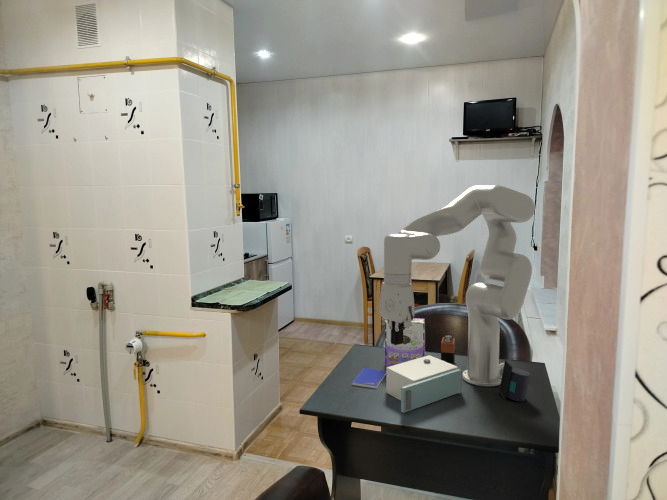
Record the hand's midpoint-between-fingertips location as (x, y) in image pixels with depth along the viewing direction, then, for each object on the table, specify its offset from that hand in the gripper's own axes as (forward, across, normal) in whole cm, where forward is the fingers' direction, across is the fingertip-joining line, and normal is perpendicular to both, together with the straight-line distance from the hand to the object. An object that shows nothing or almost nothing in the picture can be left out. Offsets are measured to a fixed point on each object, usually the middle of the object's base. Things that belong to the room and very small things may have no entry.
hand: (397, 343), depth 126 cm
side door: (+18, +4, +10) cm, 21 cm away
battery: (+19, -14, +36) cm, 43 cm away
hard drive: (+19, -20, +6) cm, 28 cm away
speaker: (+19, +15, +33) cm, 41 cm away
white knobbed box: (+19, -3, +13) cm, 23 cm away
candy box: (+19, -23, +24) cm, 38 cm away
